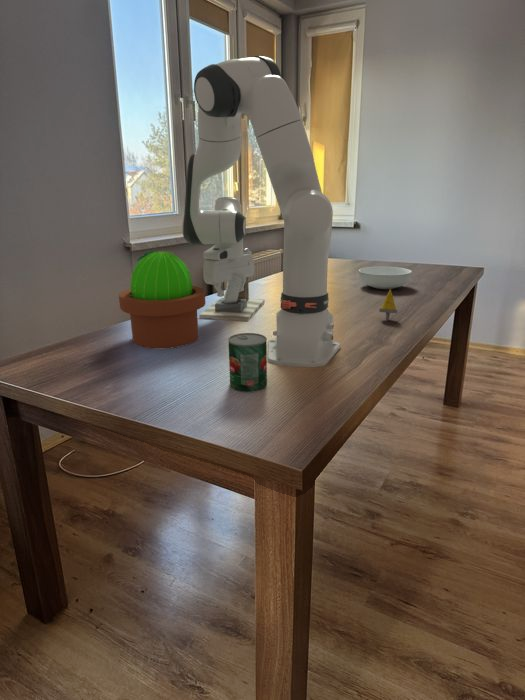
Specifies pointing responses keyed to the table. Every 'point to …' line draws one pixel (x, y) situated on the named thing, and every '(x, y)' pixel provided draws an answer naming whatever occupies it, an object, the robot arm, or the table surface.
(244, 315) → the socket board with post
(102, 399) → the table surface
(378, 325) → the table surface
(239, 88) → the robot arm
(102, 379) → the table surface
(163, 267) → the potted cactus
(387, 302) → the yellow cone on disc
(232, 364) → the canned tomato
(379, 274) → the serving bowl
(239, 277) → the gray rectangular block
